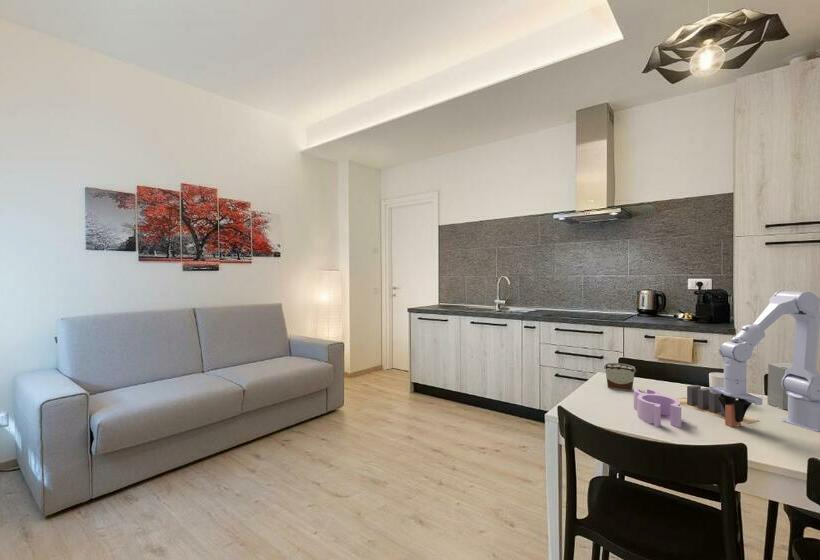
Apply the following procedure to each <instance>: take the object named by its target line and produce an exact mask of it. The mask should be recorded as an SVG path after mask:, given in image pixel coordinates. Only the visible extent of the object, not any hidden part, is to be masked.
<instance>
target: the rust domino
mask: <svg viewBox="0 0 820 560" xmlns="http://www.w3.org/2000/svg"><path fill="white" fill-rule="evenodd" d="M724 425H725V427H730V428H734V427H740V426H742V425H741V422H736V411H735V406H734V403H733V404H728V405H725V419H724Z"/></svg>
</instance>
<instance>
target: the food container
mask: <svg viewBox="0 0 820 560" xmlns="http://www.w3.org/2000/svg"><path fill="white" fill-rule="evenodd" d="M635 367H636V366H633V365H631V364H627V363H619V362H608V363H606V364H605V365H604V368H603V370H605V376H606V377H605V378H606V385H607V388H608V389H614V388H616V389H615V390H621V389H624V390H623V391H629V390H631V392H633V390H634V379H635V373H637V369H636V368H635Z"/></svg>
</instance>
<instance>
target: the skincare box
mask: <svg viewBox="0 0 820 560" xmlns="http://www.w3.org/2000/svg"><path fill="white" fill-rule="evenodd" d="M792 365H793V362H779V363H777V362H776V363H768V365H767V366H768V367H767V371H768V372H767V404H768V405H769V404H771V405H770V406H772V405H773V407H775V406H776V407H775V408H777V407H779V408H778V409H780V408H782V409H781V410H783V409H787V410H788V394H786V391H785V390H784V389H783V388H782V385H781V381H782V378H783V377H784V374H785V370H786V369H788V368H790V367H792Z"/></svg>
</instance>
